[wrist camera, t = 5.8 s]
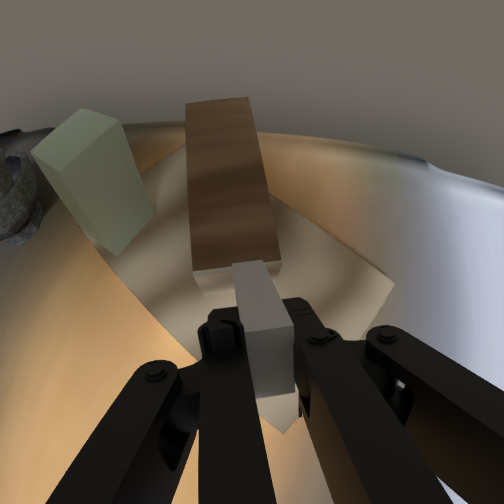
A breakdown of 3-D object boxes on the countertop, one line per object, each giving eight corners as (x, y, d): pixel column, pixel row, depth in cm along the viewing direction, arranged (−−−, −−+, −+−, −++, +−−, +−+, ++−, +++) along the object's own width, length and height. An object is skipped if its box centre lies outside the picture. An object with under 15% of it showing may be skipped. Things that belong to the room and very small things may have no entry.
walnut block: (282, 265, 17) (248, 97, 21) (193, 276, 16) (185, 103, 21) (273, 286, 21) (246, 137, 26) (204, 295, 21) (192, 142, 26)
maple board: (85, 234, 25) (78, 225, 24) (190, 152, 30) (188, 141, 29) (281, 432, 17) (283, 434, 16) (387, 291, 23) (395, 283, 21)
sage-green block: (83, 230, 24) (29, 151, 15) (119, 192, 26) (81, 107, 17) (117, 257, 22) (60, 172, 14) (155, 213, 24) (120, 119, 16)
